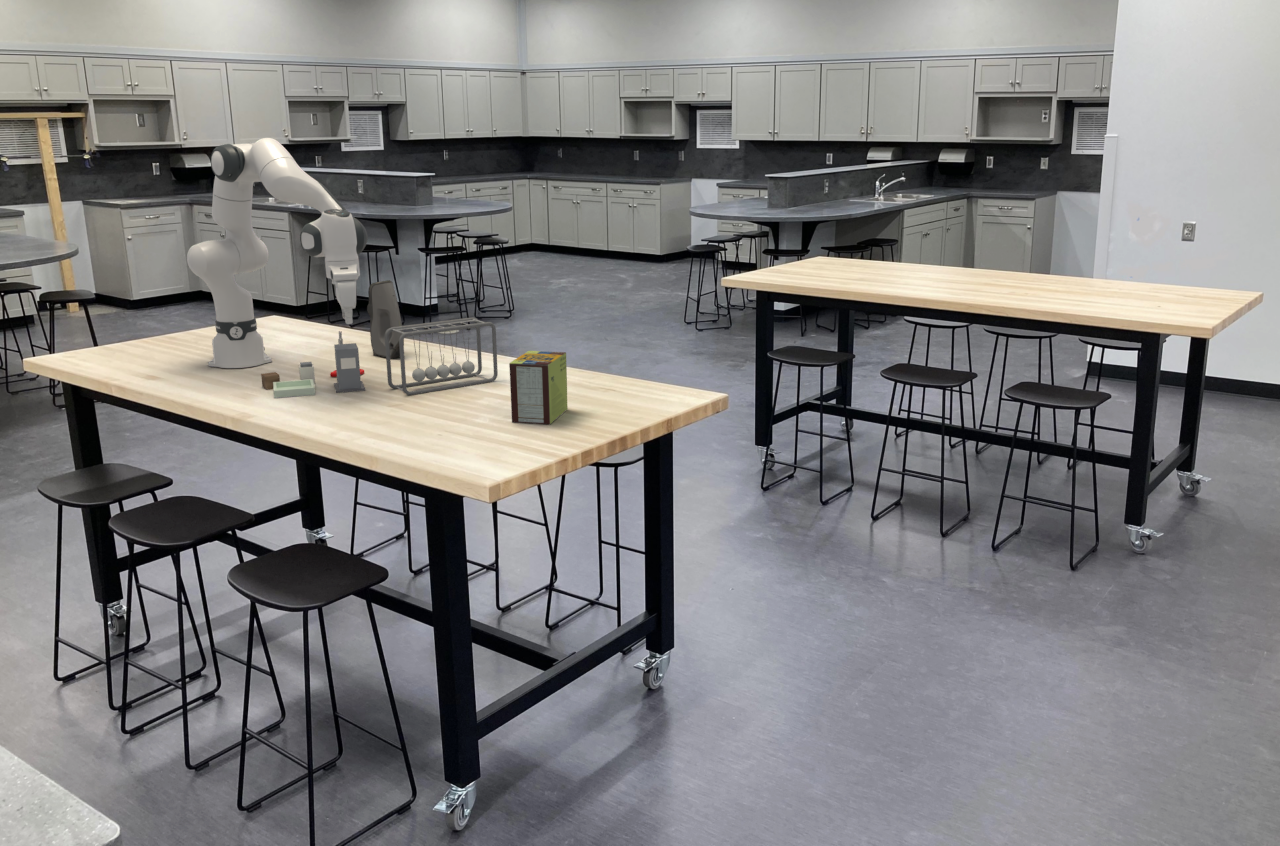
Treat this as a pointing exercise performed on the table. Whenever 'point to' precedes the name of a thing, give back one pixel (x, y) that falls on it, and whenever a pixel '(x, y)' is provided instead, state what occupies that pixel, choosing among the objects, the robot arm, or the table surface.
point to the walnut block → (269, 380)
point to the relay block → (306, 371)
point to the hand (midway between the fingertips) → (347, 321)
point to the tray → (293, 388)
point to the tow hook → (340, 341)
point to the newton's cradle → (442, 369)
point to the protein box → (538, 387)
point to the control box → (347, 368)
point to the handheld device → (384, 318)
